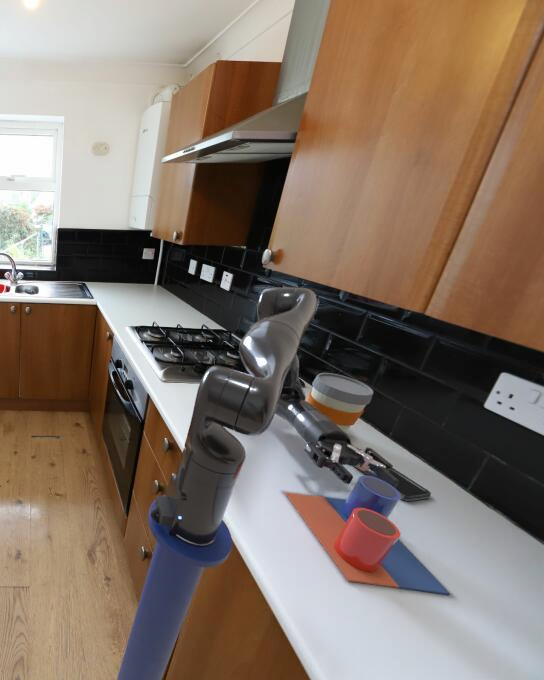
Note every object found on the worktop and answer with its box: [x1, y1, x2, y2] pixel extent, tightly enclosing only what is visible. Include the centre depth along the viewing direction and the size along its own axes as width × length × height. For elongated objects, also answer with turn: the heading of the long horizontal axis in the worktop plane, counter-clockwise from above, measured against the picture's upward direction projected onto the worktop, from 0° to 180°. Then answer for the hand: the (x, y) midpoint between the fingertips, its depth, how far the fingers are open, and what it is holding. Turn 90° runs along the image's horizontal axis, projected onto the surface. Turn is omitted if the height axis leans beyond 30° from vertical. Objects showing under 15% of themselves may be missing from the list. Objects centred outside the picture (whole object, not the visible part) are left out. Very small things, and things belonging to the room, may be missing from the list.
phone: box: [353, 448, 432, 502], centre depth 84 cm, size 8×1×15 cm
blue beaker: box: [342, 474, 402, 519], centre depth 70 cm, size 6×6×9 cm
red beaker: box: [334, 508, 401, 572], centre depth 62 cm, size 6×6×8 cm
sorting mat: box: [285, 492, 451, 596], centre depth 68 cm, size 16×19×1 cm
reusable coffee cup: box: [306, 372, 374, 433], centre depth 98 cm, size 13×13×15 cm
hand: (372, 483), depth 70 cm, fingers open, 8 cm apart
